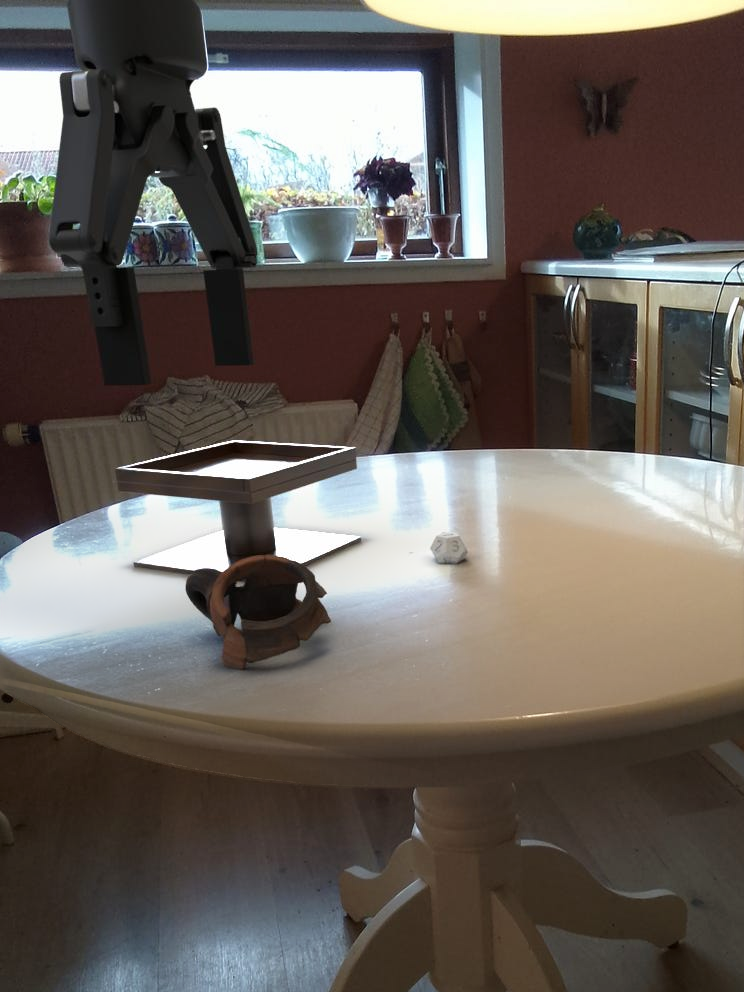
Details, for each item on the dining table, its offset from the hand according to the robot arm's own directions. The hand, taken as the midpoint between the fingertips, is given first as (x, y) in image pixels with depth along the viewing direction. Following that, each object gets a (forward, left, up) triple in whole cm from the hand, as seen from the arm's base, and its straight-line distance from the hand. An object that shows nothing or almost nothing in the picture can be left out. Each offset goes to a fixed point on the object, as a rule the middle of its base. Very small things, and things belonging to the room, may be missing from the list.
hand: (186, 374), depth 62 cm
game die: (+5, +27, -20) cm, 34 cm away
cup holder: (-15, +22, -20) cm, 34 cm away
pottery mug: (+2, +2, -20) cm, 21 cm away
